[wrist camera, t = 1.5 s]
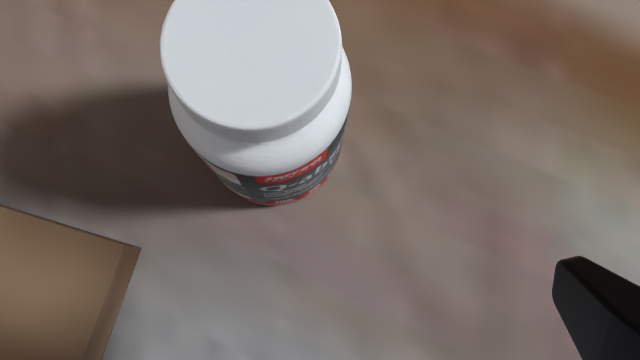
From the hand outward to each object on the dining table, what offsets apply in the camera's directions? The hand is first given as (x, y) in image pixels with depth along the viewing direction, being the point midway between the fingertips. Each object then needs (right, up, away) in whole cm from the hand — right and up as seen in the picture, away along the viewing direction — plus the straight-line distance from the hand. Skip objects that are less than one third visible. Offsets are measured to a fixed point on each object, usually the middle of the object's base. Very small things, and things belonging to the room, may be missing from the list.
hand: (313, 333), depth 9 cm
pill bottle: (-2, +4, +14) cm, 15 cm away
